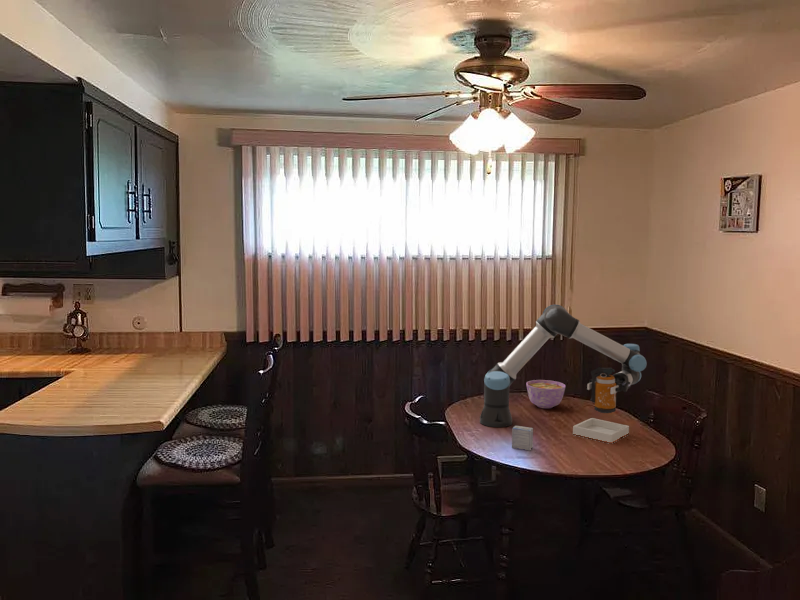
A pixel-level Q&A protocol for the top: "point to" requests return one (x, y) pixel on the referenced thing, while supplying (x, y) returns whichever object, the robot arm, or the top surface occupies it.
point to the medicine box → (522, 437)
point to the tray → (600, 429)
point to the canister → (603, 390)
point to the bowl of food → (545, 392)
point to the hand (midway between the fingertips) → (599, 388)
